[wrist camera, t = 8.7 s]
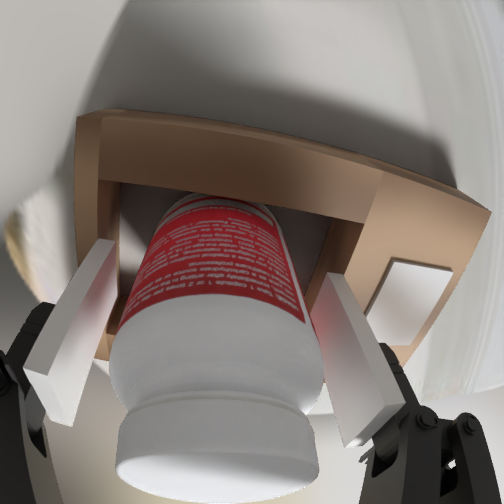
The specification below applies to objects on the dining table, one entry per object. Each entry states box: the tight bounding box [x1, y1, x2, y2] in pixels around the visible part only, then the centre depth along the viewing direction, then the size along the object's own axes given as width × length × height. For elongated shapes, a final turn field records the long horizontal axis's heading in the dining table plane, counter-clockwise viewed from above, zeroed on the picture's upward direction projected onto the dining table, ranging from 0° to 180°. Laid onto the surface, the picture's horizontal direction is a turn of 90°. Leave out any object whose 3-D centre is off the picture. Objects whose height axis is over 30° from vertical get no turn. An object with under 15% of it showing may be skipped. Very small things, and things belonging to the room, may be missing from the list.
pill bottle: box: [109, 192, 324, 504], centre depth 10 cm, size 6×6×11 cm
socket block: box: [74, 108, 492, 383], centre depth 14 cm, size 12×18×3 cm, turn 78°
